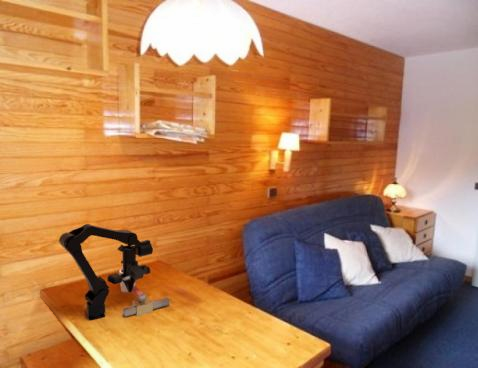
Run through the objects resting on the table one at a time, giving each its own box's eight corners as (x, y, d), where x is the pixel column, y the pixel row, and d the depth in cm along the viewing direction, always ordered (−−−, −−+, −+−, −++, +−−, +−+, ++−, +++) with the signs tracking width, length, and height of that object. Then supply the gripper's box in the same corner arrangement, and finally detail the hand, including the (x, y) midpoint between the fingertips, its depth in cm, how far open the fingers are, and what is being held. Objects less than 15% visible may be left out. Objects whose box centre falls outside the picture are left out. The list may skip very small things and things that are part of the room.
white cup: (133, 293, 180) (133, 273, 179) (117, 292, 180) (116, 273, 179) (138, 286, 188) (137, 267, 187) (122, 286, 188) (122, 267, 187)
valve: (126, 319, 155) (126, 307, 154) (121, 313, 160) (121, 301, 159) (170, 307, 166) (170, 296, 165) (165, 302, 171) (165, 291, 170)
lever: (147, 300, 161) (147, 296, 160) (140, 301, 159) (139, 297, 159) (136, 289, 172) (136, 285, 171) (129, 290, 170) (129, 286, 170)
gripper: (120, 269, 153) (121, 304, 155) (157, 258, 167) (157, 291, 169) (106, 262, 160) (107, 296, 162) (142, 252, 174) (143, 284, 176)
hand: (129, 292), depth 167 cm, fingers closed
